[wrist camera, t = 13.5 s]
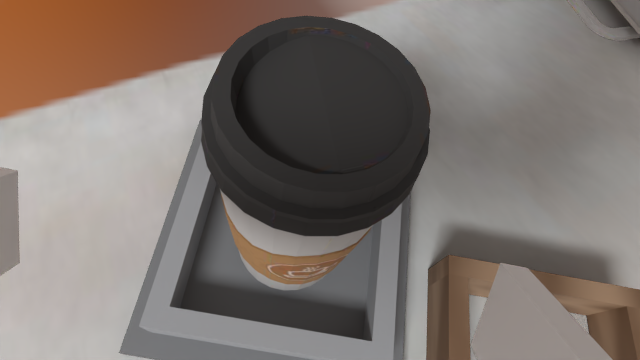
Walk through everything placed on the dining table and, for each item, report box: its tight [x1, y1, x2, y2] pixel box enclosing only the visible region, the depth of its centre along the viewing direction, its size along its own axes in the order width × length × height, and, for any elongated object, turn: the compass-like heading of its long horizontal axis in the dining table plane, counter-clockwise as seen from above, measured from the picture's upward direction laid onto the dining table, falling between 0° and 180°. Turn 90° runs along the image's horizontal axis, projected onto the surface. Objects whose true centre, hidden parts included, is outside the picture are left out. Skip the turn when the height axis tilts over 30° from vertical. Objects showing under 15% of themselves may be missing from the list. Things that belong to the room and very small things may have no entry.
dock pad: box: [119, 120, 411, 360], centre depth 26 cm, size 16×16×4 cm
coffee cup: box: [201, 16, 430, 290], centre depth 20 cm, size 8×8×15 cm
